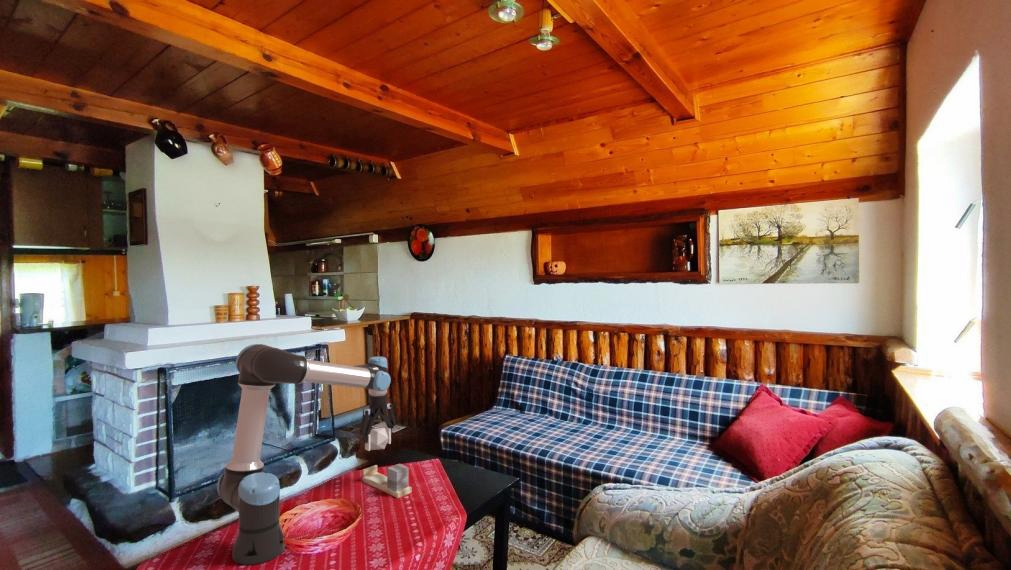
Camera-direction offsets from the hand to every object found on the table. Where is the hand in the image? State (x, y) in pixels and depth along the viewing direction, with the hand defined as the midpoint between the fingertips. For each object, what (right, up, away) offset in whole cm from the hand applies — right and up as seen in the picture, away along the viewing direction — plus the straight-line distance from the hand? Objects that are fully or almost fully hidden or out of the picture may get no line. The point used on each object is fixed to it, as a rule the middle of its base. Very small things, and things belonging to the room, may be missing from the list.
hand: (378, 446), depth 208 cm
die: (0, -1, 0) cm, 1 cm away
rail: (+4, -17, -1) cm, 17 cm away
